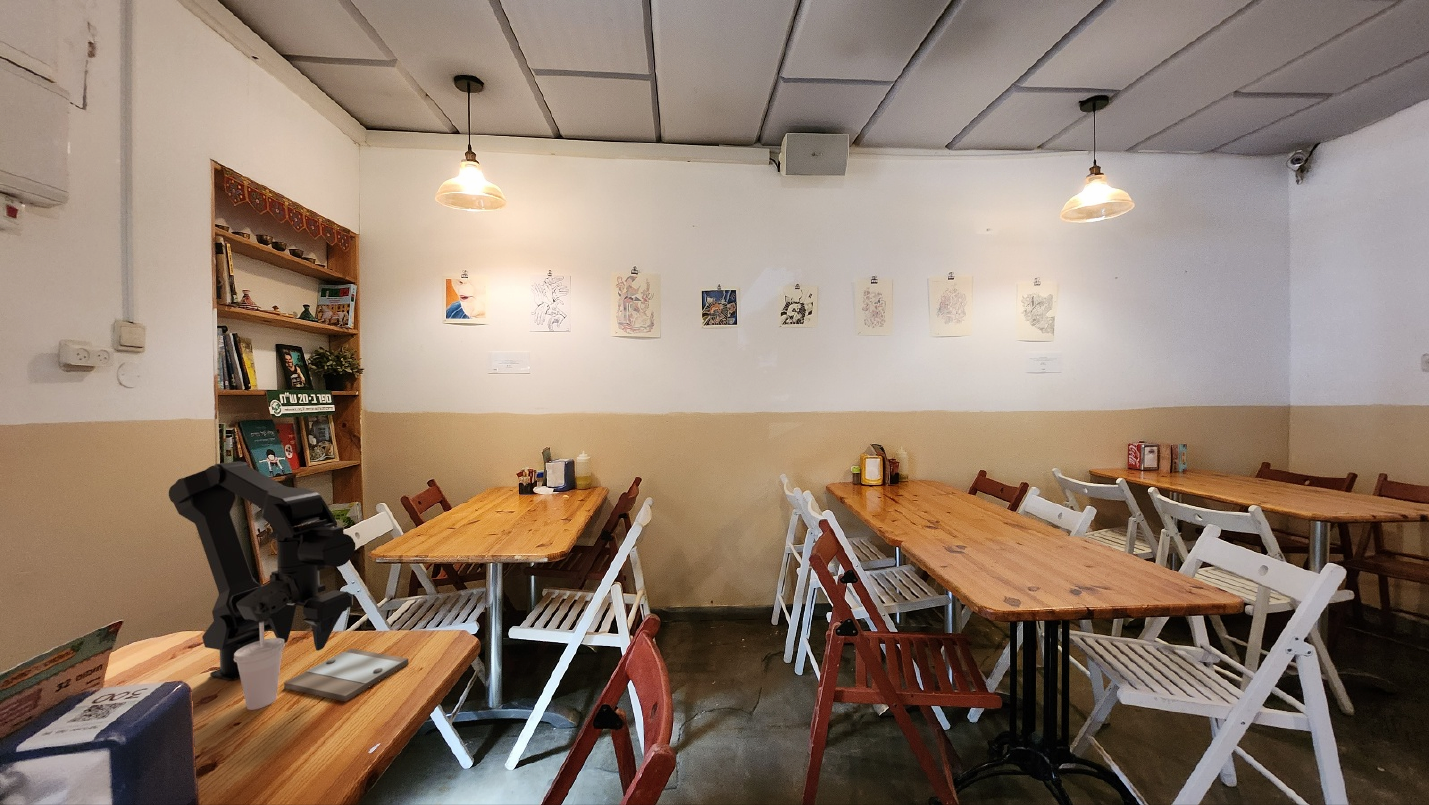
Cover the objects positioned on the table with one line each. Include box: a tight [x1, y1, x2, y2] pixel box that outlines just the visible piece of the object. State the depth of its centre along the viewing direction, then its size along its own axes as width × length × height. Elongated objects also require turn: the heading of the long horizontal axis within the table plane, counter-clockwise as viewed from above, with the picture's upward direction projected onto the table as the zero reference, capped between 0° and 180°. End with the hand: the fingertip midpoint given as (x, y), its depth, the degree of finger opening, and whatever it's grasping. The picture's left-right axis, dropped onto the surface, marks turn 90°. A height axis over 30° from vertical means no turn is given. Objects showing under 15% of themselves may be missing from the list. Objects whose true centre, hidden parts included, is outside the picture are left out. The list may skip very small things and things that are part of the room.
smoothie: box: [234, 621, 286, 711], centre depth 82 cm, size 6×6×14 cm
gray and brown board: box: [283, 648, 409, 702], centre depth 90 cm, size 15×12×1 cm
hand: (301, 646), depth 89 cm, fingers open, 9 cm apart
